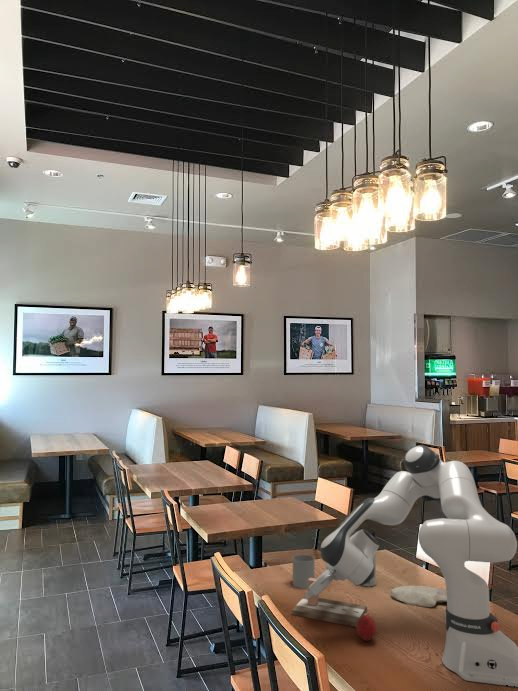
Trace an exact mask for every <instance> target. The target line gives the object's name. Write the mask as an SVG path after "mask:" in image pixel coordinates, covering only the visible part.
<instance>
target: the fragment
mask: <svg viewBox="0 0 518 691" xmlns="http://www.w3.org/2000/svg"><path fill="white" fill-rule="evenodd" d="M390 594H391V596H392V598H394V599H395V600H397V601H400V602H403V603H404V604H406V605H411V606H413V607H415V606H416V607H422V608H433V607H435V606H436V605H437V603H439V604H441V603H447V593H446V590H444V589H443V588H442V587H433V586H431V587H429V586H425V585H405V586H404V585H401V586H396V587H395V588H390Z"/></svg>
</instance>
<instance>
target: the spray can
mask: <svg viewBox="0 0 518 691" xmlns="http://www.w3.org/2000/svg"><path fill="white" fill-rule="evenodd" d="M364 530H367V531H368V532H369V533H370V534H372V535H373V536H374V538H375V539H376V532H375V531H374V530H372V529H364ZM376 554H377V551H376V552H375V554H374V559H373V562H374V566H375V574H374V576H373V578H372V579H371V580H370V581H369V582H368V583H367V584H365V585H362V587H366V586H367V587H366V588H368V587H369V588H372V587H374V586H376V584H377V582H376V580H377V578H376V576H377V575H376V572H377V570H376V568H377V566H376V560H377V559H376ZM371 586H372V587H371Z"/></svg>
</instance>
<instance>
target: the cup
mask: <svg viewBox="0 0 518 691" xmlns="http://www.w3.org/2000/svg"><path fill="white" fill-rule="evenodd" d="M315 568H316V567H315V557H314V556H313V555H308V554H296V555H294V556H293V557H292V586H293V587H295V588H297V589H304V590H306V589H307V590H308V579H309V578H315ZM315 579H316V578H315Z"/></svg>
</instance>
